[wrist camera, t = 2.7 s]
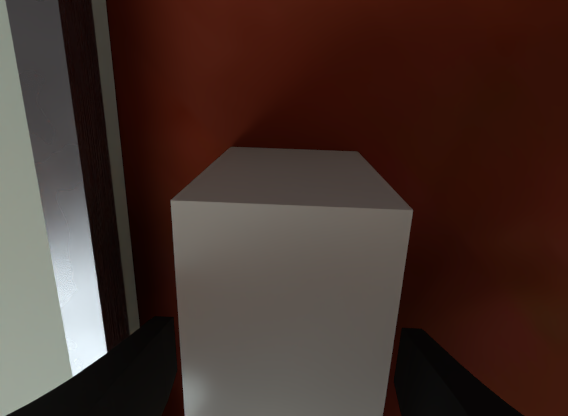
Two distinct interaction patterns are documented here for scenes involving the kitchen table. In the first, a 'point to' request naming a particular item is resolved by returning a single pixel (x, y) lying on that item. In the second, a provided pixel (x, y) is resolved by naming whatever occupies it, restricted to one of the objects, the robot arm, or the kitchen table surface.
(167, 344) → the robot arm
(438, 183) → the kitchen table surface
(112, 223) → the rack
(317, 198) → the clay bar
